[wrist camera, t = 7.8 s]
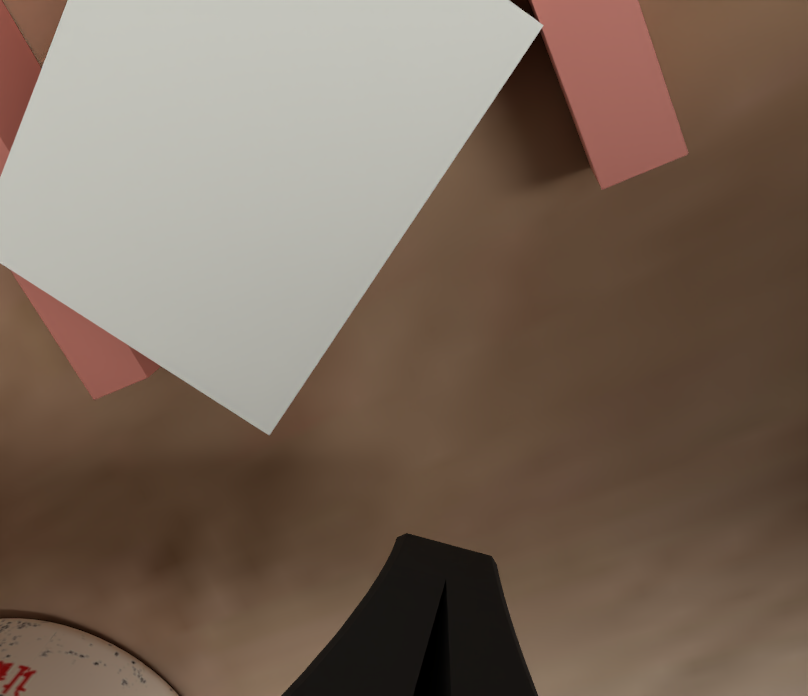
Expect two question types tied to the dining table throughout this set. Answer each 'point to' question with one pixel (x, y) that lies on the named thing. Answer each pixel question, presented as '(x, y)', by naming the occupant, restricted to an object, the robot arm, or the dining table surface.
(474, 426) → the dining table surface
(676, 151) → the pink u-shaped block
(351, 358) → the dining table surface
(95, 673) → the teacup with lid
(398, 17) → the white rectangular block
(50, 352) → the dining table surface
